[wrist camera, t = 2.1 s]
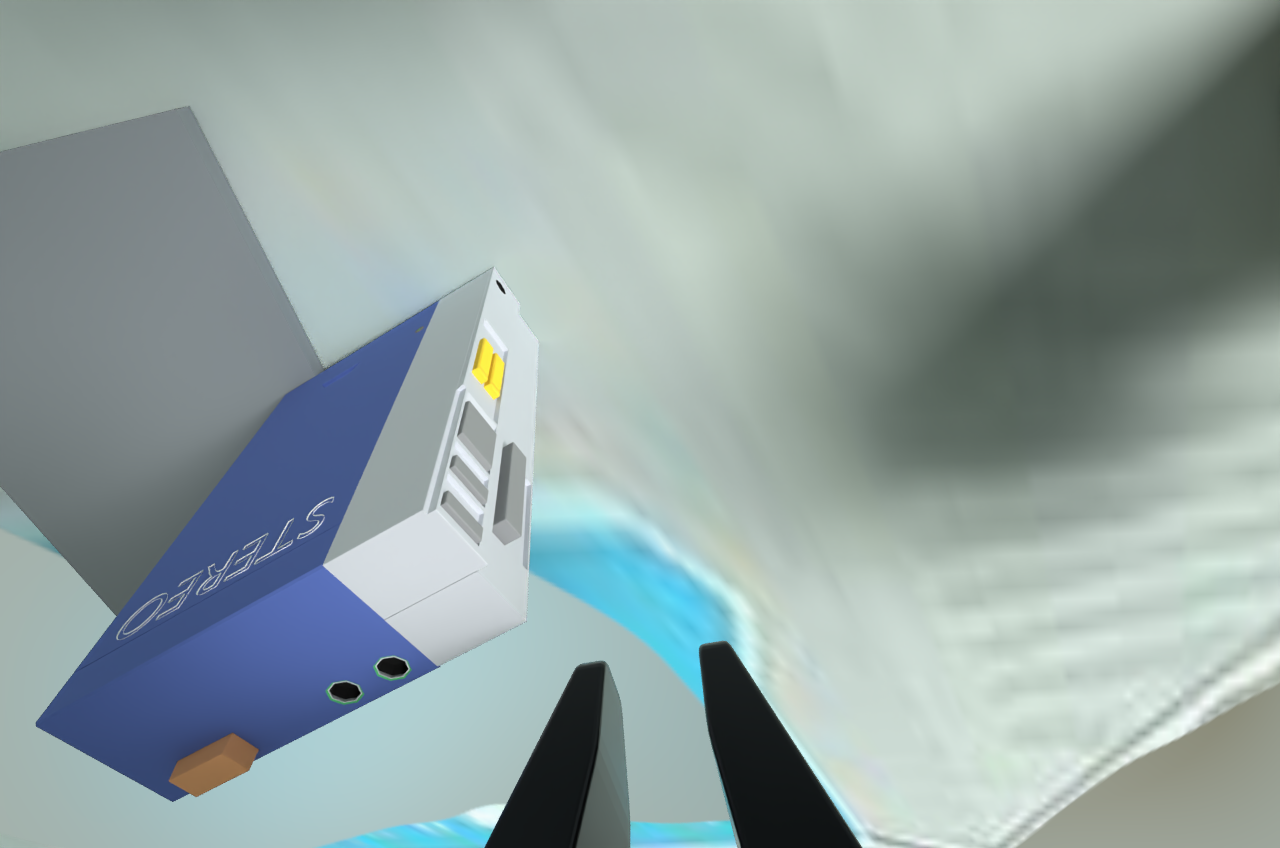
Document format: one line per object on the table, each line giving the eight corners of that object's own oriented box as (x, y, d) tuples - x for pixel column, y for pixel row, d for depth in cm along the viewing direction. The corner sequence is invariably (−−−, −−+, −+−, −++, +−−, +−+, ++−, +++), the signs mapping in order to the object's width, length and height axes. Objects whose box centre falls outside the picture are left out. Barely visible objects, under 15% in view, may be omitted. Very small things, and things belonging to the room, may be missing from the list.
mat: (189, 106, 17) (176, 109, 16) (421, 559, 25) (417, 571, 25) (-222, 206, 18) (-247, 211, 17) (132, 611, 26) (122, 623, 26)
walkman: (347, 456, 22) (164, 825, 12) (285, 393, 21) (14, 746, 10) (548, 339, 21) (546, 634, 10) (496, 264, 19) (433, 516, 9)
